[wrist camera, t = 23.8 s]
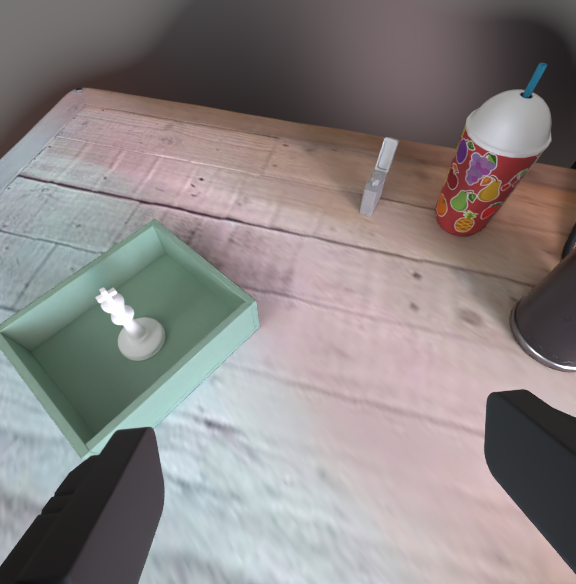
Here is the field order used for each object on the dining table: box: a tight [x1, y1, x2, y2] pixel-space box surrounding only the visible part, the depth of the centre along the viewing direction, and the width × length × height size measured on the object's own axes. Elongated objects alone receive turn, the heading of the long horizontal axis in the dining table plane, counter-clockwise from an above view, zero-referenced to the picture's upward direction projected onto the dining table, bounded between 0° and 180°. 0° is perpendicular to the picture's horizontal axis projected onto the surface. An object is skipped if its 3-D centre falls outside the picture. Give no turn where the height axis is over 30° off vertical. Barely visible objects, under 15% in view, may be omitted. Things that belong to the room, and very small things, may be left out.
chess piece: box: [95, 287, 165, 361], centre depth 36 cm, size 5×5×10 cm
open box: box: [0, 219, 260, 460], centre depth 38 cm, size 20×17×6 cm
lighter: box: [359, 137, 399, 216], centre depth 49 cm, size 7×2×8 cm, turn 153°
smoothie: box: [435, 63, 551, 236], centre depth 41 cm, size 8×8×20 cm
